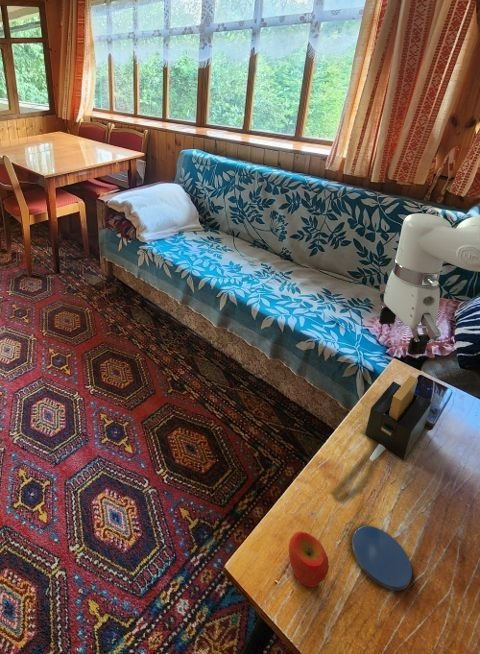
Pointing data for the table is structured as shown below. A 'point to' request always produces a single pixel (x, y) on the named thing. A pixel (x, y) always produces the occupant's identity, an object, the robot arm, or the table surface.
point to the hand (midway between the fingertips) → (400, 337)
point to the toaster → (393, 432)
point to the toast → (403, 398)
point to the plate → (381, 558)
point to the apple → (308, 559)
